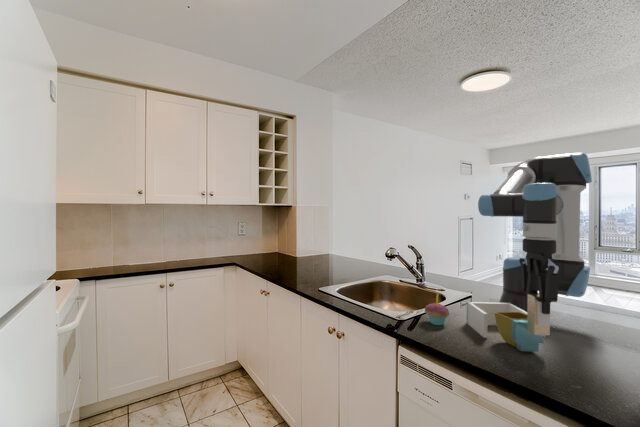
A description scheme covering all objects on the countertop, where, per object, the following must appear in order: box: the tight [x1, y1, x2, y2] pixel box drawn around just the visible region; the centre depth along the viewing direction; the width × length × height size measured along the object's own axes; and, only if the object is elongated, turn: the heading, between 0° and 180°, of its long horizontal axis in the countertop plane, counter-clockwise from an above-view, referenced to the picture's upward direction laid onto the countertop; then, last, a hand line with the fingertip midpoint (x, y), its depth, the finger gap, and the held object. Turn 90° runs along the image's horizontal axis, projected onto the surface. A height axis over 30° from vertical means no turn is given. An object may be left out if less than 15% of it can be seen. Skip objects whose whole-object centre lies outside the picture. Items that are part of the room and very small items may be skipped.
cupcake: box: [424, 292, 450, 326], centre depth 108 cm, size 9×8×12 cm
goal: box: [466, 301, 527, 339], centre depth 101 cm, size 15×12×8 cm
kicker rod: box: [511, 293, 551, 353], centre depth 82 cm, size 8×7×18 cm
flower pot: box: [494, 312, 527, 348], centre depth 90 cm, size 9×9×9 cm
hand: (538, 321), depth 80 cm, fingers closed on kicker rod, 3 cm apart
